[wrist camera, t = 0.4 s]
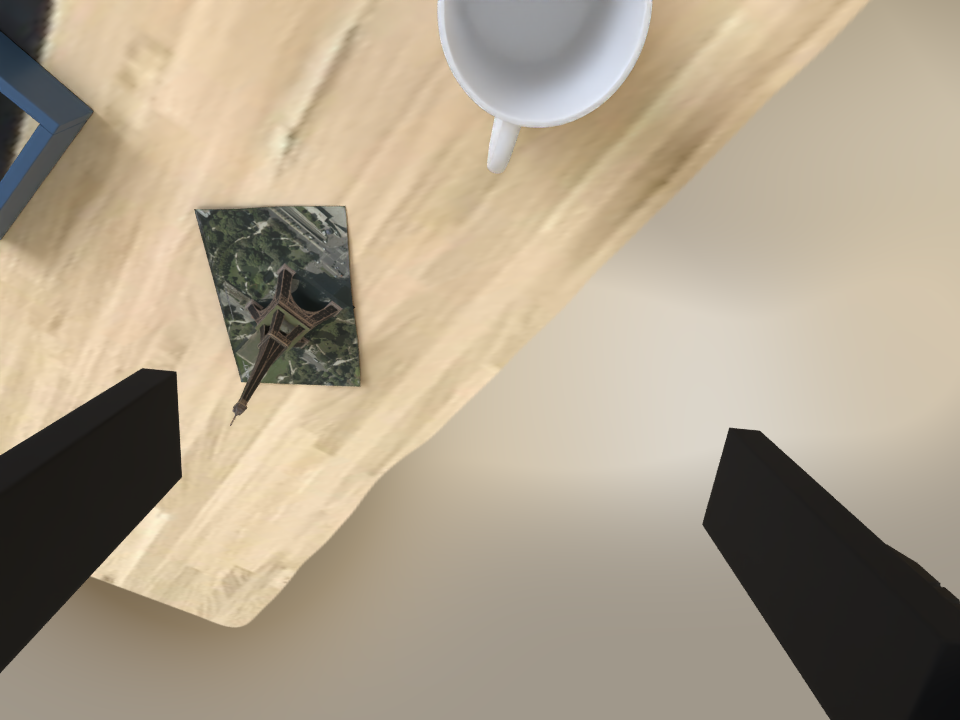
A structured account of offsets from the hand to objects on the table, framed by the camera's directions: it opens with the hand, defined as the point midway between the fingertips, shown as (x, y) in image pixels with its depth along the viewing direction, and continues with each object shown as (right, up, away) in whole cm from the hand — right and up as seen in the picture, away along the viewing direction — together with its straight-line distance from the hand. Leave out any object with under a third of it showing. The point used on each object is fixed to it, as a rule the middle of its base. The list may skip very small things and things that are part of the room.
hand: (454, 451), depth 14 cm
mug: (+3, +21, +19) cm, 28 cm away
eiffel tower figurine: (-14, +7, +29) cm, 33 cm away
